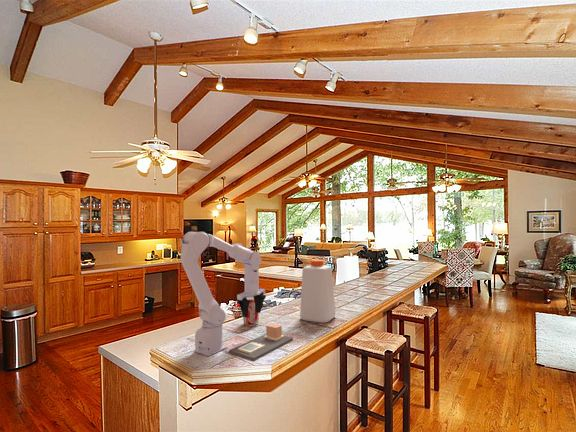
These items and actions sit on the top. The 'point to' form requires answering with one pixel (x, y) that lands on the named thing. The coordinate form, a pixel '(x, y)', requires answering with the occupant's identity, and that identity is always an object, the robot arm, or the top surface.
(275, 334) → the stub
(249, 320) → the soda can
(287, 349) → the top surface
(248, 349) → the photo frame
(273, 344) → the mat
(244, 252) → the robot arm
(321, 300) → the plastic bottle
